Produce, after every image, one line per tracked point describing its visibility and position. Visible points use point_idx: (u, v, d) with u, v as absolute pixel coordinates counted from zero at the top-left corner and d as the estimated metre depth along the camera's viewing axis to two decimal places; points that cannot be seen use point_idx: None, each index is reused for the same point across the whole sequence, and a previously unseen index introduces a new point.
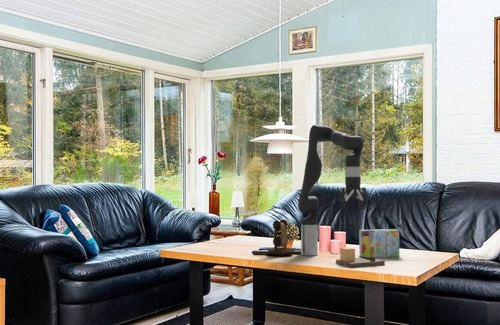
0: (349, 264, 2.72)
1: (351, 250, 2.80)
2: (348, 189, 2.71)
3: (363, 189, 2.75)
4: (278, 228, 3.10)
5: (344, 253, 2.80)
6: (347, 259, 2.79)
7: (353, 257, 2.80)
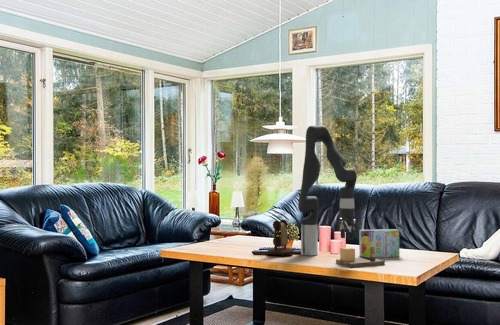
0: (349, 264, 2.72)
1: (351, 250, 2.80)
2: None
3: None
4: (278, 228, 3.10)
5: (344, 253, 2.80)
6: (347, 259, 2.79)
7: (353, 257, 2.80)
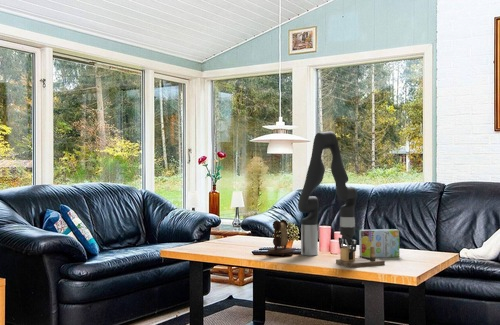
0: (349, 264, 2.72)
1: None
2: None
3: None
4: (278, 228, 3.10)
5: (344, 253, 2.80)
6: (347, 259, 2.79)
7: (353, 257, 2.80)
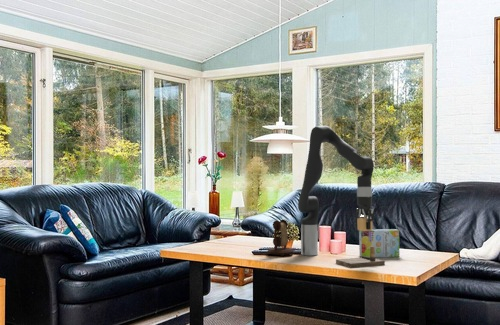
0: (349, 264, 2.72)
1: None
2: None
3: None
4: (278, 228, 3.10)
5: (361, 223, 2.79)
6: (364, 229, 2.77)
7: None
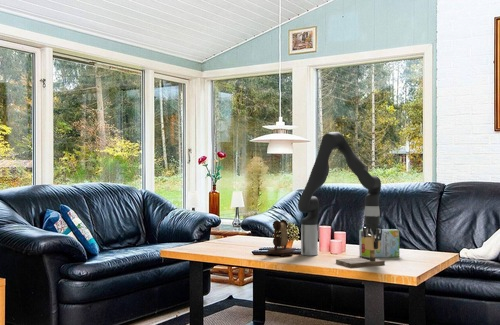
0: (349, 264, 2.72)
1: None
2: None
3: None
4: (278, 228, 3.10)
5: (369, 242, 2.79)
6: (372, 248, 2.78)
7: (378, 246, 2.79)
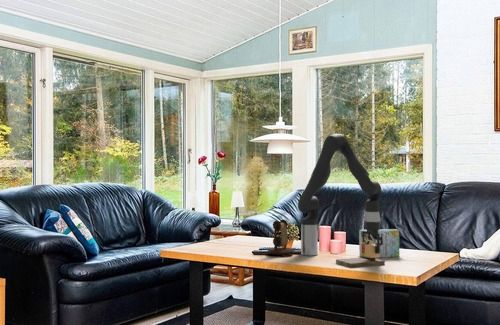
0: (349, 264, 2.72)
1: None
2: None
3: None
4: (278, 228, 3.10)
5: (369, 249, 2.79)
6: (372, 256, 2.78)
7: (378, 254, 2.79)
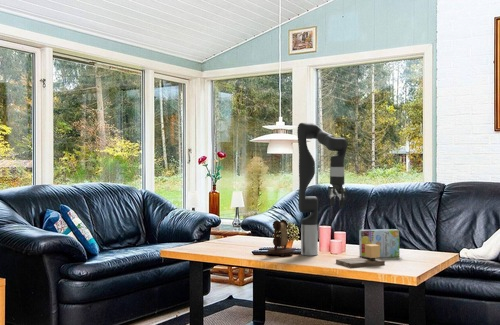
0: (349, 264, 2.72)
1: (376, 247, 2.79)
2: None
3: None
4: (278, 228, 3.10)
5: (369, 249, 2.79)
6: (372, 256, 2.78)
7: (378, 254, 2.79)
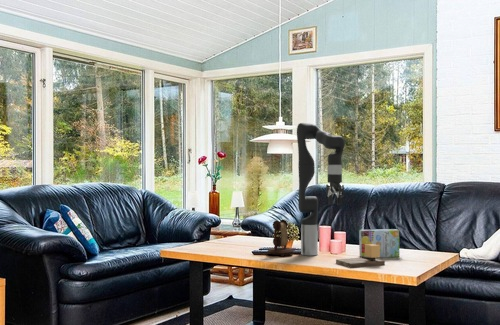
0: (349, 264, 2.72)
1: (376, 247, 2.79)
2: None
3: None
4: (278, 228, 3.10)
5: (369, 249, 2.79)
6: (372, 255, 2.78)
7: (378, 254, 2.79)
